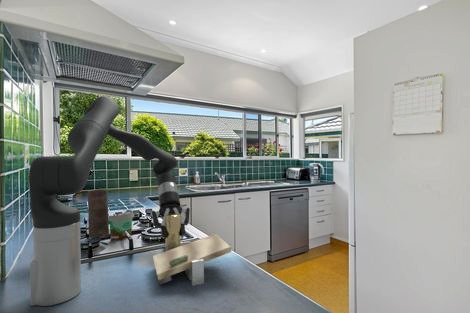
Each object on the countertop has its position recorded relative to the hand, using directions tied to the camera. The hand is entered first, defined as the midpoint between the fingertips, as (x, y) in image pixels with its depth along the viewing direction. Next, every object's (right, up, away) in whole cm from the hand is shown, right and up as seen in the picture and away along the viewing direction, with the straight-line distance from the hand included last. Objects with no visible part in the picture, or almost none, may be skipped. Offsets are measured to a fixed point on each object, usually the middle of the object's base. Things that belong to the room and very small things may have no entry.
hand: (173, 236), depth 88 cm
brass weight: (-1, -5, +2) cm, 6 cm away
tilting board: (+9, -2, -14) cm, 17 cm away
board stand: (+8, -6, -14) cm, 17 cm away
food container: (-24, -6, +18) cm, 31 cm away
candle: (-35, -6, +18) cm, 40 cm away
